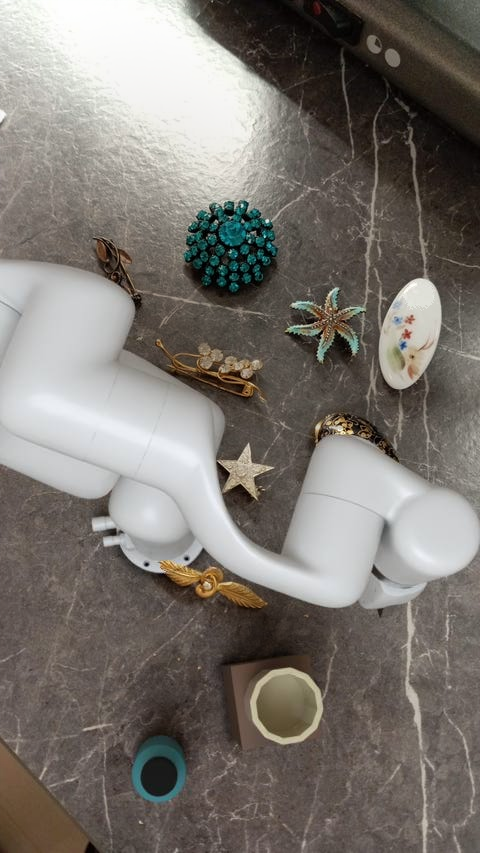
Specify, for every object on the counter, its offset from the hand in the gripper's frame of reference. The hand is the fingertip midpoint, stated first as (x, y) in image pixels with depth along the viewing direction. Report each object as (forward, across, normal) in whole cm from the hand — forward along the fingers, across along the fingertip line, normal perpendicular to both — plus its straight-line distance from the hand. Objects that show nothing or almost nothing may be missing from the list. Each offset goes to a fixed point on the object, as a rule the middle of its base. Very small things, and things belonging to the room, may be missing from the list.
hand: (361, 565), depth 102 cm
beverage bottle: (+24, +19, -25) cm, 40 cm away
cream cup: (+3, +13, -12) cm, 18 cm away
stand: (+24, +13, -11) cm, 29 cm away
